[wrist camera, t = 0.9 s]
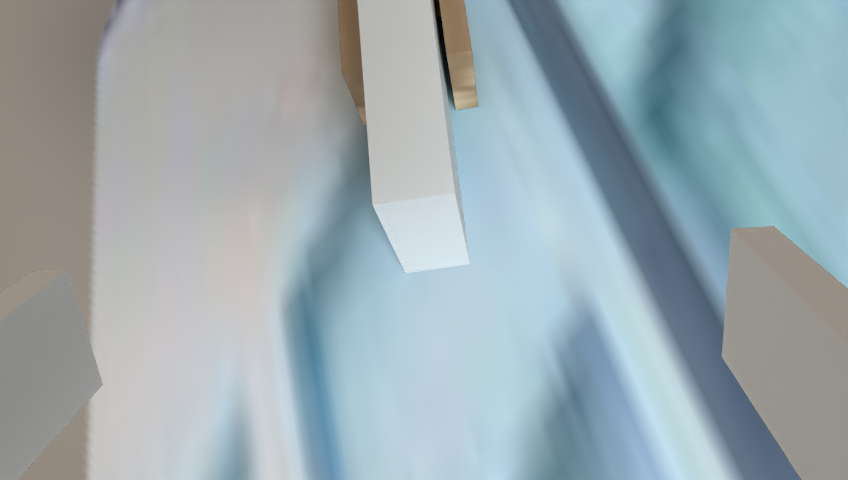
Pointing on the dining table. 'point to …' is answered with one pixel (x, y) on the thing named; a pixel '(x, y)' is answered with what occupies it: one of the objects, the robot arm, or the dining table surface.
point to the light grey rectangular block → (411, 134)
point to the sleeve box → (456, 44)
